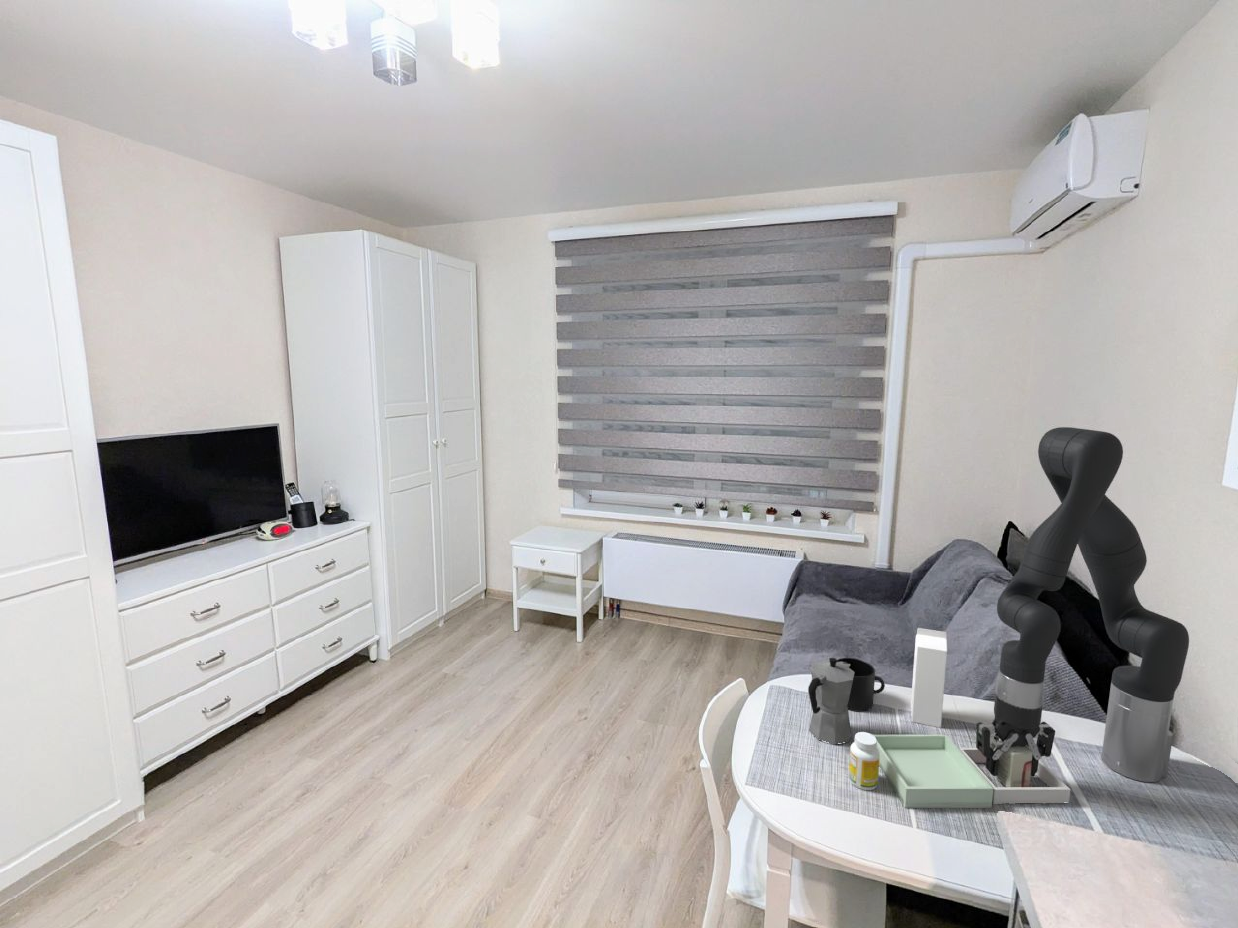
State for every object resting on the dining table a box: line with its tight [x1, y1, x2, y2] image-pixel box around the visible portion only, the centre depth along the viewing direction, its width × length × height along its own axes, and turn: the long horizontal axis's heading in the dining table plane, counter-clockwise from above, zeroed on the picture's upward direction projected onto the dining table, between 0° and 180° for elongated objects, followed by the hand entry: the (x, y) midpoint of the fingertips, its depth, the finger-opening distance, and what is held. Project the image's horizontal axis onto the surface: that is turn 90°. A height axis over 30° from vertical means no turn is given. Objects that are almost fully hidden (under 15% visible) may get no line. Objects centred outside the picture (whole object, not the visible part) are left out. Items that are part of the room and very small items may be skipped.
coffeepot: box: [807, 657, 855, 745], centre depth 127 cm, size 15×9×18 cm, turn 129°
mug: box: [837, 657, 886, 712], centre depth 140 cm, size 9×12×9 cm
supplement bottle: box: [848, 731, 880, 791], centre depth 113 cm, size 5×5×10 cm
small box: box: [994, 738, 1033, 787], centre depth 113 cm, size 5×4×8 cm
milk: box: [910, 627, 948, 729], centre depth 132 cm, size 6×6×22 cm
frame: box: [957, 747, 1071, 805], centre depth 113 cm, size 14×12×3 cm
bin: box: [872, 734, 993, 809], centre depth 114 cm, size 16×16×4 cm
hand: (1010, 772), depth 113 cm, fingers open, 6 cm apart
